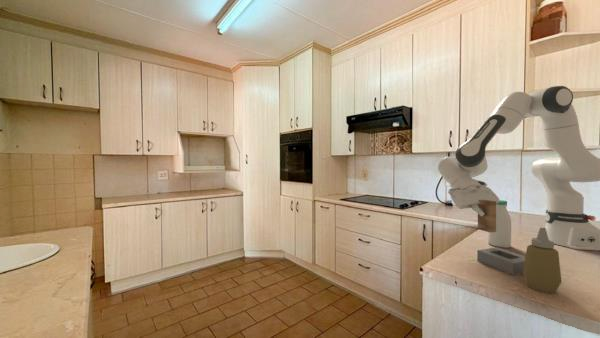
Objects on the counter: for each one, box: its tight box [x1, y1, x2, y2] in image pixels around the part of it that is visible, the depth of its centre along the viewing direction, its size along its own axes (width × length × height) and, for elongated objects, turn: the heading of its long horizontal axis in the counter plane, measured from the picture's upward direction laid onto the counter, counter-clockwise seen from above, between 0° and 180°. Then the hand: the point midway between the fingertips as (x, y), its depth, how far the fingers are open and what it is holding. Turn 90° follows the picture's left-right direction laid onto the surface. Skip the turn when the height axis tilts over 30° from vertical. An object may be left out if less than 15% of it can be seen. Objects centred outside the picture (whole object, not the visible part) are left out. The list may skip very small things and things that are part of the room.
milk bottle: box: [487, 199, 512, 249], centre depth 106 cm, size 8×8×20 cm
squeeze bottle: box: [522, 227, 562, 294], centre depth 70 cm, size 8×8×18 cm
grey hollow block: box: [476, 246, 526, 276], centre depth 86 cm, size 12×10×4 cm
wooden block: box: [477, 200, 496, 233], centre depth 96 cm, size 5×3×12 cm, turn 16°
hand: (488, 214), depth 95 cm, fingers closed on wooden block, 3 cm apart
